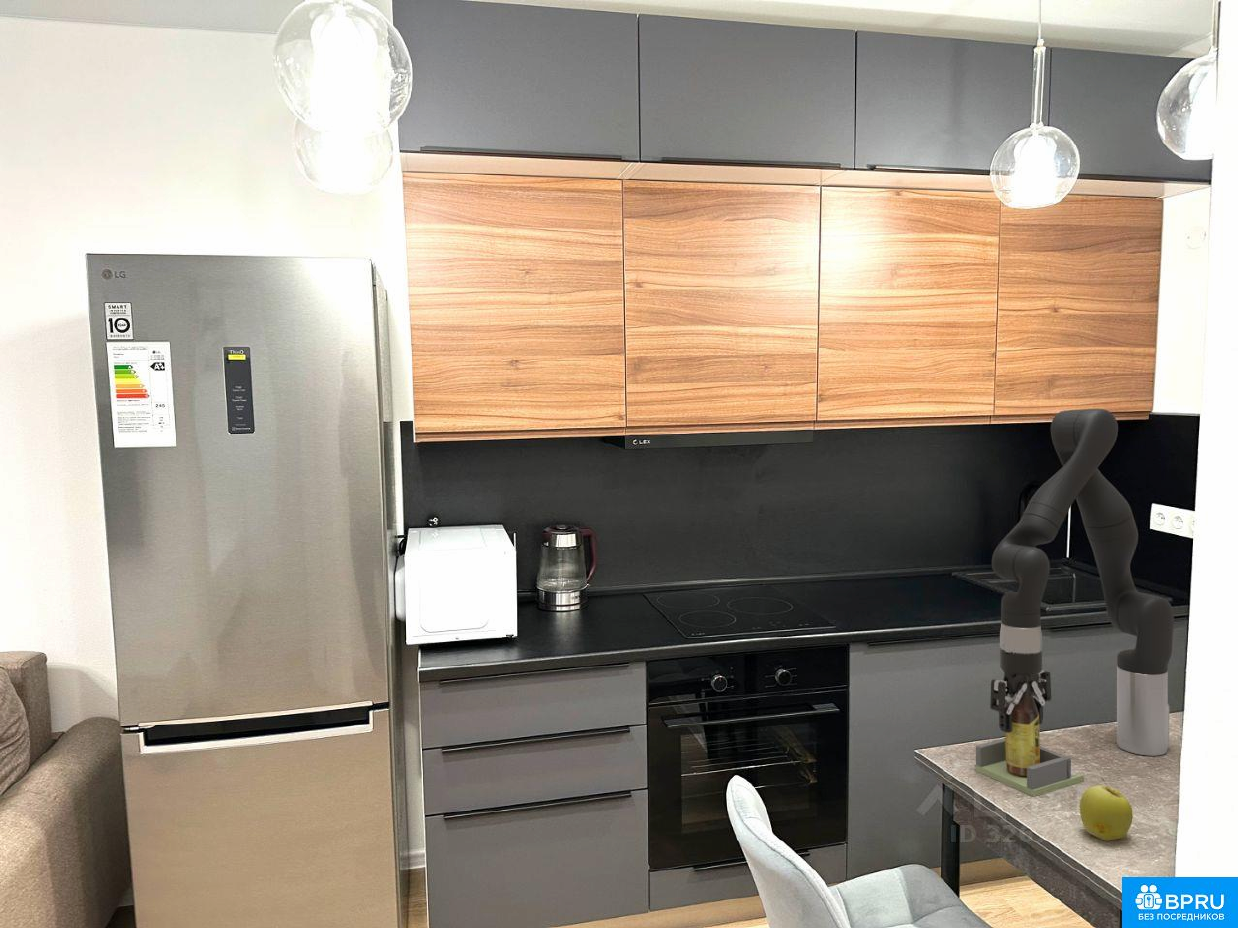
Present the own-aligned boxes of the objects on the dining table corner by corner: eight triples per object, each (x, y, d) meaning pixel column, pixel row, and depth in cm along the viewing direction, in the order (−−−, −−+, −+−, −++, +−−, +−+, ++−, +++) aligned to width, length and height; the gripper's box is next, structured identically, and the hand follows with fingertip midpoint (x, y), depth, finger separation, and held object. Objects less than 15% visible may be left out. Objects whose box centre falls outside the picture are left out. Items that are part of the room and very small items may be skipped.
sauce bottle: (1043, 779, 171) (1043, 678, 170) (1009, 777, 172) (1008, 677, 171) (1035, 765, 177) (1034, 668, 176) (1001, 764, 178) (1001, 667, 177)
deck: (1023, 756, 185) (1023, 732, 184) (1083, 781, 172) (1083, 755, 172) (974, 770, 179) (974, 745, 178) (1033, 796, 166) (1033, 769, 166)
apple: (1070, 832, 150) (1076, 772, 151) (1085, 830, 155) (1091, 772, 157) (1121, 848, 144) (1127, 786, 146) (1135, 845, 150) (1141, 785, 151)
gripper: (1029, 637, 179) (1030, 715, 180) (979, 647, 173) (980, 728, 174) (1062, 645, 173) (1062, 726, 174) (1011, 656, 166) (1011, 740, 167)
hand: (1021, 727), depth 174 cm, fingers open, 8 cm apart
